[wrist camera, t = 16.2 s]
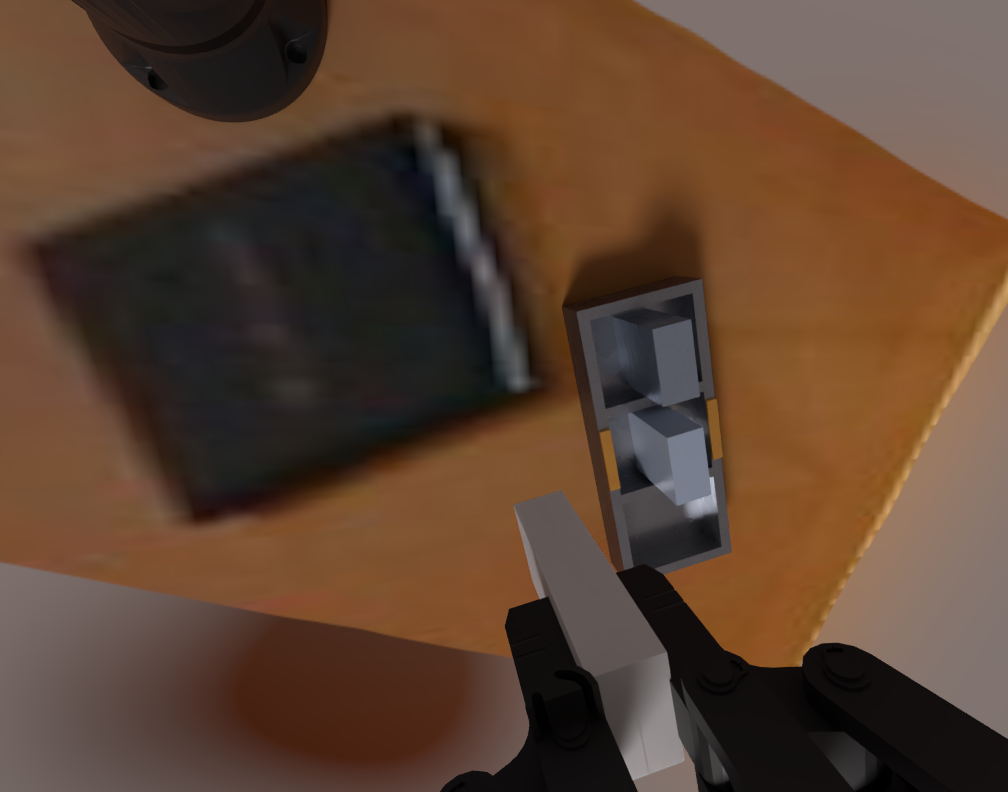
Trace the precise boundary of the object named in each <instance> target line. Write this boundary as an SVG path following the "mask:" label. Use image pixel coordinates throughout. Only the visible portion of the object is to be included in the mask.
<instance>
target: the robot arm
mask: <svg viewBox="0 0 1008 792" xmlns="http://www.w3.org/2000/svg"><path fill="white" fill-rule="evenodd" d="M72 1H73V2H74V3H76V4H77V5H79V6H80V7H81V8H83V9H84V10H86V12H87V14H88V16H89V18H90V20H91V22H92V24H93V26H94V28H95V30H96V32H97V33H98V35H99V37H100V38H101V40H102V41H103V43H104V44H105V46H106V47H107V48H108V50H109V51H110V52H111V54H112V55H113V56H114V57H115V58H116V60H117V61H118V62H119V63H120V64H121V65H122V66H123V67H124V68H125V69H126V70H127V71H128V72H129V73H130V74H131V75H132V76H133V77H134V78H135V79H136V80H137V81H138V82H140V83H141V84H142V85H143V86H145V87H146V88H147V89H149V90H150V91H152V92H153V93H155V94H156V95H158V96H159V97H161V98H163V99H164V100H166V101H167V102H169V103H171V104H172V105H174V106H176V107H178V108H180V109H182V110H184V111H186V112H188V113H191V114H193V115H196V116H199V117H202V118H206V119H210V120H215V121H221V122H247V121H253V120H258V119H262V118H265V117H268V116H270V115H273V114H275V113H277V112H279V111H281V110H282V109H284V108H285V107H287V106H288V105H290V104H291V103H292V102H294V101H295V100H296V99H297V98H298V97H299V96H300V95H301V94H302V93H303V92H304V90H305V89H306V88H307V87H308V85H309V84H310V82H311V81H312V79H313V77H314V76H315V74H316V72H317V70H318V67H319V65H320V62H321V59H322V56H323V52H324V48H325V43H326V36H327V10H326V2H325V0H72ZM514 509H515V513H516V517H517V521H518V525H519V529H520V533H521V537H522V541H523V544H524V548H525V552H526V556H527V560H528V564H529V568H530V572H531V576H532V580H533V583H534V585H535V588H536V591H537V593H538V596H539V598H540V599H539V600H535V601H532V602H529V603H526V604H523V605H520V606H517V607H514V608H511V609H509V612H508V616H507V620H506V624H505V629H506V633H507V637H508V640H509V644H510V648H511V652H512V655H513V659H514V663H515V666H516V671H517V674H518V678H519V682H520V686H521V689H522V693H523V697H524V701H525V705H526V706H525V707H526V711H527V715H528V719H529V732H528V736H527V739H526V742H525V744H524V746H523V748H522V749H521V751H520V752H519V754H518V755H517V756H516V757H515V758H514V759H513V760H512V761H511V762H510V763H509V764H508V765H506V766H505V767H504V768H502V769H501V770H500V771H499V772H497V773H496V774H495V775H493V776H492V775H491V774H489V773H488V772H482V771H470V772H467V773H464V774H461V775H458V776H456V777H455V778H454V779H452V780H451V781H450V782H448V783H447V784H446V785H445V786H444V787H443V788H442V790H441V791H440V792H638V791H637V789H636V787H635V784H634V782H633V780H635V779H638V778H640V777H643V776H646V775H649V774H651V773H654V772H657V771H659V770H662V769H665V768H667V767H670V766H673V765H676V764H678V763H681V762H683V761H685V759H684V753H683V747H682V743H683V745H684V747H685V749H686V750H687V752H688V754H689V756H690V757H691V759H692V761H693V763H694V765H695V772H696V778H697V784H698V791H699V792H1008V739H1007V738H1005V737H1004V736H1002V735H1000V734H999V733H997V732H995V731H994V730H992V729H991V728H989V727H988V726H986V725H984V724H983V723H981V722H980V721H978V720H976V719H975V718H973V717H971V716H970V715H968V714H967V713H965V712H963V711H962V710H960V709H958V708H957V707H955V706H954V705H952V704H951V703H949V702H947V701H946V700H944V699H942V698H941V697H939V696H938V695H936V694H934V693H933V692H931V691H930V690H928V689H926V688H925V687H923V686H921V685H920V684H918V683H917V682H915V681H913V680H912V679H910V678H909V677H907V676H905V675H904V674H902V673H900V672H899V671H897V670H896V669H894V668H892V667H891V666H889V665H888V664H886V663H884V662H883V661H881V660H880V659H878V658H876V657H875V656H873V655H872V654H870V653H868V652H865V651H863V650H861V649H859V648H857V647H855V646H850V645H846V644H841V643H823V644H820V645H817V646H815V647H812V648H810V649H809V650H808V652H807V653H806V654H805V655H804V656H803V664H802V667H777V668H769V667H758V666H753V665H749V664H748V663H747V662H746V661H745V660H744V659H742V658H741V657H740V656H738V655H735V654H733V653H731V652H728V651H725V650H724V649H723V648H722V647H721V646H720V645H719V644H718V643H717V642H716V640H715V639H714V638H713V636H712V635H711V634H710V633H709V631H708V630H707V629H706V628H705V626H704V625H703V624H702V623H701V621H700V620H699V619H698V618H697V616H696V615H695V614H694V613H693V611H692V610H691V609H690V608H689V606H688V605H687V604H686V603H684V601H683V599H682V598H681V596H680V595H679V594H678V593H677V591H675V590H674V587H673V586H672V585H671V584H670V582H669V581H668V580H667V579H666V577H665V576H664V575H663V574H662V573H661V572H659V571H657V570H655V569H653V568H652V567H650V566H648V565H646V564H642V565H639V566H636V567H633V568H630V569H627V570H623V571H620V572H617V573H615V571H614V570H613V568H612V567H611V565H610V564H609V562H608V561H607V559H606V558H605V556H604V555H603V553H602V551H601V550H600V548H599V547H598V545H597V544H596V542H595V541H594V539H593V538H592V536H591V535H590V533H589V532H588V530H587V528H586V527H585V525H584V524H583V522H582V521H581V519H580V518H579V516H578V515H577V513H576V512H575V510H574V509H573V507H572V506H571V504H570V502H569V501H568V499H567V498H566V496H565V495H564V493H563V492H562V490H561V491H557V492H554V493H551V494H547V495H544V496H541V497H537V498H534V499H531V500H527V501H524V502H521V503H517V504H514Z"/></svg>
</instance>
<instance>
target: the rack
mask: <svg viewBox="0 0 1008 792" xmlns="http://www.w3.org/2000/svg"><path fill="white" fill-rule="evenodd" d="M562 309H563V315H564V320H565V325H566V330H567V335H568V341H569V346H570V351H571V356H572V361H573V366H574V372H575V377H576V382H577V387H578V392H579V397H580V403H581V408H582V413H583V418H584V423H585V429H586V434H587V439H588V444H589V449H590V454H591V460H592V465H593V470H594V475H595V480H596V485H597V491H598V496H599V501H600V506H601V511H602V517H603V522H604V527H605V532H606V537H607V542H608V548H609V553H610V558H611V563H612V564H613V566H614V567H615V569H616V570H617V572H620V571H623V570H627V569H630V568H633V567H636V566H639V565H642V564H646V565H648V566H650V567H652V568H653V569H655V570H657V571H659V572H661V573H662V574H666V573H669V572H672V571H675V570H678V569H682V568H685V567H688V566H691V565H694V564H697V563H700V562H703V561H706V560H709V559H712V558H715V557H718V556H721V555H724V554H727V553H730V552H731V543H730V534H729V524H728V515H727V506H726V496H725V487H724V478H723V469H722V459H721V458H722V457H723V453H722V443H721V434H720V425H719V415H718V406H717V399H716V398H715V394H714V385H713V376H712V367H711V357H710V348H709V339H708V329H707V320H706V311H705V302H704V292H703V283H702V279H699V278H689V277H678V276H677V277H674V278H670V279H666V280H662V281H658V282H654V283H651V284H647V285H643V286H639V287H635V288H631V289H628V290H624V291H620V292H616V293H612V294H609V295H605V296H601V297H597V298H593V299H589V300H586V301H582V302H578V303H574V304H570V305H566V306H563V307H562ZM656 405H661V406H662V407H665V406H668V407H670V408H671V409H673V410H675V411H676V412H678V413H680V414H682V415H683V416H685V417H687V418H688V419H690V420H692V421H693V422H695V423H697V424H698V425H700V426H702V427H703V431H704V439H705V447H706V454H707V462H708V470H709V478H710V486H711V494H712V495H710V496H707V497H704V498H700V499H697V500H694V501H691V502H688V503H685V504H682V505H679V506H677V505H676V504H675V503H674V502H673V501H671V500H670V499H669V498H668V497H667V496H666V495H665V494H664V493H663V492H662V491H661V490H660V489H659V488H658V487H657V486H655V485H654V484H653V483H652V482H651V481H650V480H649V479H648V478H647V477H646V476H645V475H644V474H643V473H642V472H641V471H640V470H638V469H637V463H636V458H635V452H634V446H633V440H632V435H631V429H630V423H629V418H628V413H631V412H635V411H638V410H642V409H645V408H649V407H652V406H656Z"/></svg>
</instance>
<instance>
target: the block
mask: <svg viewBox="0 0 1008 792" xmlns="http://www.w3.org/2000/svg"><path fill="white" fill-rule="evenodd" d="M628 418H629V423H630V429H631V435H632V440H633V446H634V452H635V458H636V463H637V469H638V470H640V471H641V472H642V473H643V474H644V475H645V476H646V477H647V478H648V479H649V480H650V481H651V482H652V483H653V484H654V485H655V486H657V487H658V488H659V489H660V490H661V491H662V492H663V493H664V494H665V495H666V496H667V497H668V498H669V499H670V500H671V501H673V502H674V503H675V504H676V505H677V506H679V505H682V504H685V503H688V502H691V501H694V500H697V499H700V498H704V497H707V496H710V495H712V494H711V486H710V478H709V470H708V462H707V454H706V447H705V439H704V431H703V427H702V426H700V425H698V424H697V423H695V422H693V421H692V420H690V419H688V418H687V417H685V416H683V415H682V414H680V413H678V412H676V411H675V410H673V409H671V408H670V407H668V406H665V407H662V406H661V405H656V406H652V407H649V408H645V409H642V410H638V411H635V412H631V413H628Z"/></svg>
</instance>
